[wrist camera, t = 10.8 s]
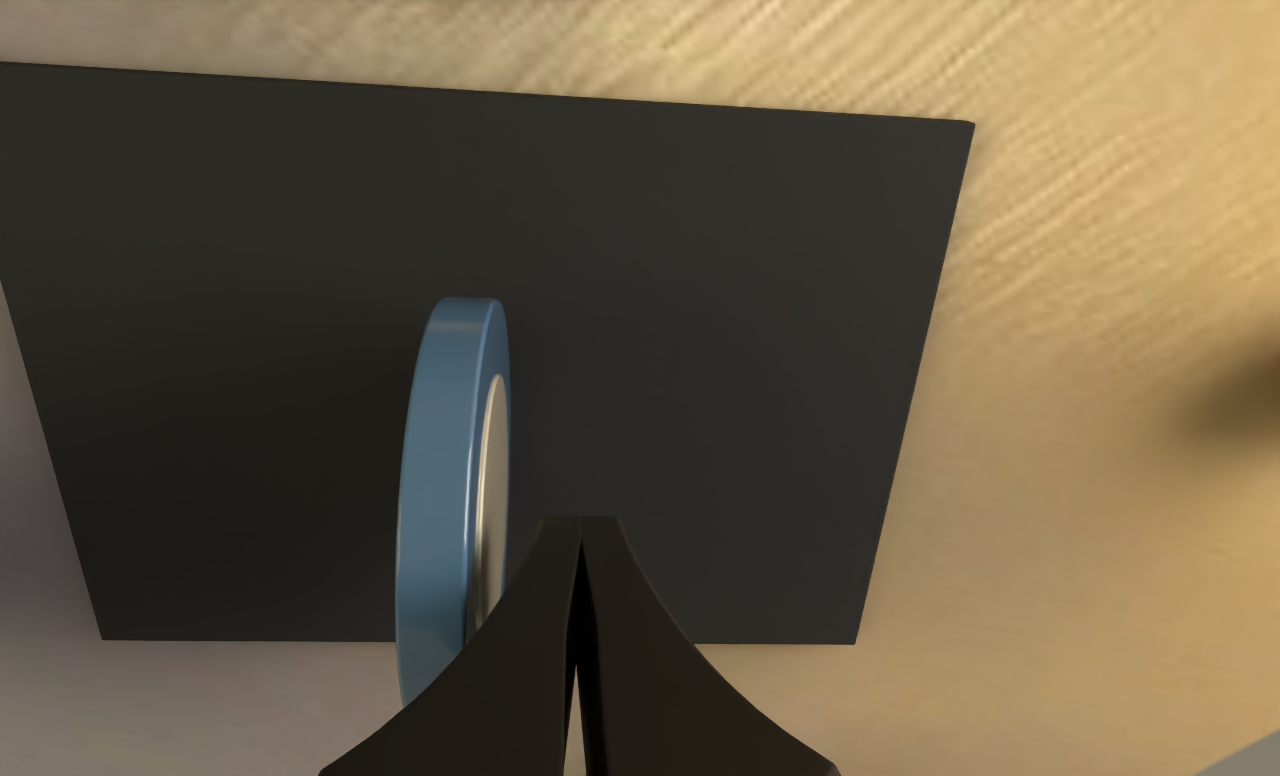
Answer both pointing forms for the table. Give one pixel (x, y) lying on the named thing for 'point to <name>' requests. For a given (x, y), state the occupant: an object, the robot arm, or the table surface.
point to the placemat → (471, 267)
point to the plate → (452, 488)
